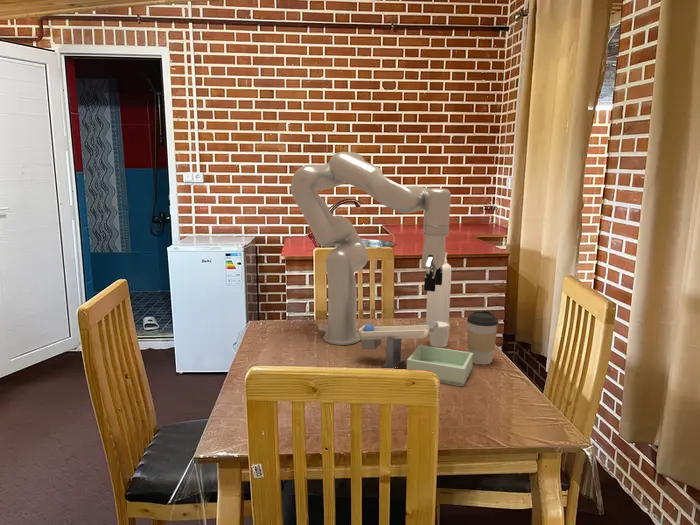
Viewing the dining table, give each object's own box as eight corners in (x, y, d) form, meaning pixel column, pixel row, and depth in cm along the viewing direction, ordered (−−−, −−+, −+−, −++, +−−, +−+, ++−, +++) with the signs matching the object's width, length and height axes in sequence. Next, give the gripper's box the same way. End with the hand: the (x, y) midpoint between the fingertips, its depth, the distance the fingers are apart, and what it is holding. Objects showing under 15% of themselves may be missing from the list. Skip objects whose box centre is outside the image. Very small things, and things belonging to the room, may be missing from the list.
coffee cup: (490, 368, 151) (493, 319, 148) (460, 362, 156) (463, 314, 153) (499, 359, 159) (502, 312, 156) (470, 353, 164) (473, 307, 161)
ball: (363, 335, 154) (361, 325, 154) (367, 332, 157) (365, 323, 157) (372, 334, 153) (370, 324, 153) (376, 331, 156) (374, 321, 155)
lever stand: (382, 368, 151) (383, 337, 149) (391, 358, 158) (392, 329, 156) (395, 371, 149) (396, 339, 147) (404, 361, 157) (405, 331, 155)
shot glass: (449, 348, 167) (450, 327, 166) (427, 346, 169) (428, 326, 167) (449, 341, 174) (450, 321, 173) (428, 339, 175) (429, 320, 174)
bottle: (446, 334, 180) (450, 255, 175) (423, 331, 183) (426, 254, 178) (450, 327, 188) (454, 252, 182) (428, 325, 191) (431, 250, 185)
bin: (406, 376, 146) (407, 359, 145) (419, 360, 157) (419, 344, 156) (463, 386, 139) (464, 369, 138) (472, 369, 151) (473, 352, 150)
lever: (361, 349, 154) (358, 330, 153) (374, 337, 164) (372, 319, 164) (429, 348, 145) (426, 327, 145) (439, 335, 156) (436, 316, 155)
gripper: (431, 226, 163) (428, 280, 167) (415, 233, 147) (413, 292, 151) (454, 227, 160) (451, 282, 164) (441, 235, 144) (438, 295, 148)
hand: (433, 287), depth 157 cm, fingers open, 7 cm apart
